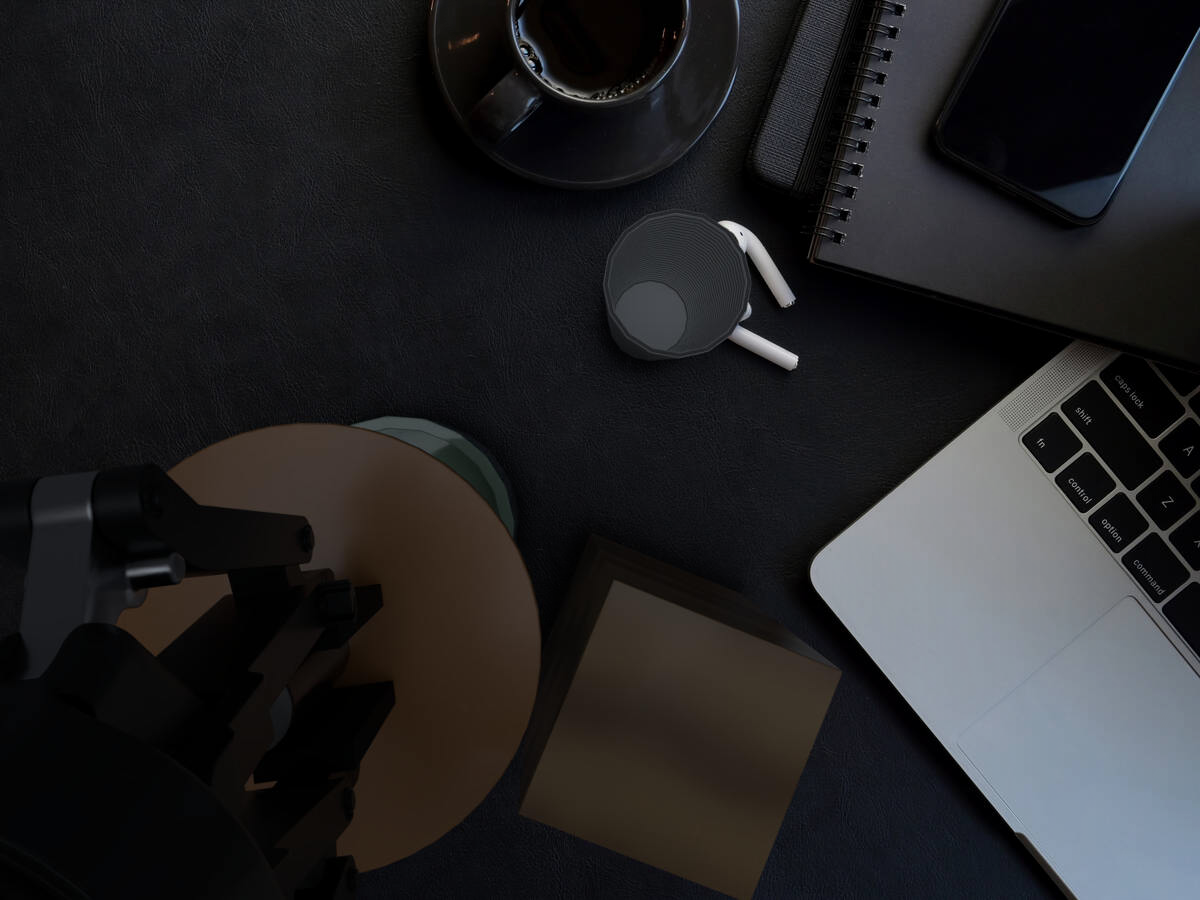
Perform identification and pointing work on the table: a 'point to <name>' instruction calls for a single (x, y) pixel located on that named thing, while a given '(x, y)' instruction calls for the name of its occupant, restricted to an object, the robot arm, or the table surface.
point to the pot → (456, 459)
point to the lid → (385, 617)
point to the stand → (670, 719)
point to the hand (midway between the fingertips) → (347, 649)
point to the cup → (675, 286)
